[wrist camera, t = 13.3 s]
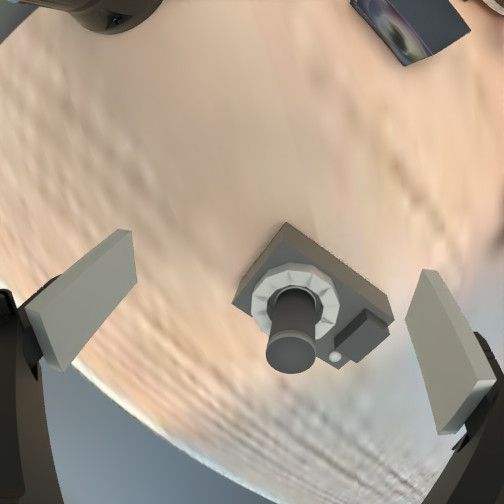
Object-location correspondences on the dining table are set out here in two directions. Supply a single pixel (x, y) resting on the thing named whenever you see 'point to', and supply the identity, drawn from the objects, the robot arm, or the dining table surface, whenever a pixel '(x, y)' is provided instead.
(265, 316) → the camera body
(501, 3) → the coffee press
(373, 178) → the dining table surface
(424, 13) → the small box
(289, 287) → the lens
